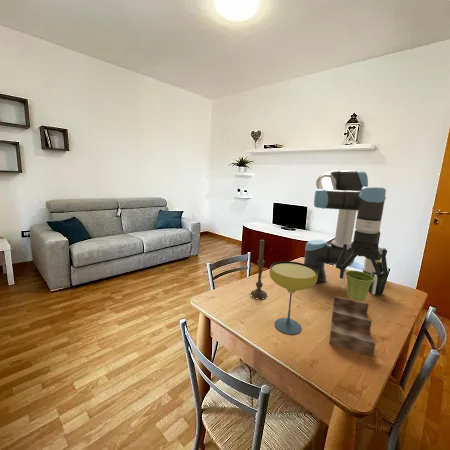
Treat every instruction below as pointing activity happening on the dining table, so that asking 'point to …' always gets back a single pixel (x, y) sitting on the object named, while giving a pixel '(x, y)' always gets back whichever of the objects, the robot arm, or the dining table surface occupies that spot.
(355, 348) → the rack
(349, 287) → the plant pot
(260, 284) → the candlestick holder
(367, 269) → the wine bottle
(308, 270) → the cocktail glass
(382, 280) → the potion bottle
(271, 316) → the dining table surface
